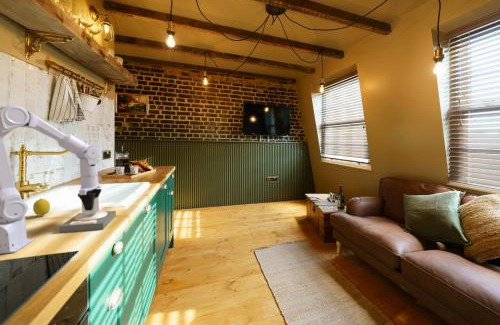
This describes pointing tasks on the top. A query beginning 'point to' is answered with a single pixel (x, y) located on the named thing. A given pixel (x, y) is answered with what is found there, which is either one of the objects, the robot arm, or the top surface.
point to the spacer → (94, 208)
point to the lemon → (41, 207)
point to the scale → (88, 221)
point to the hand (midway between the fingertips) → (91, 208)
